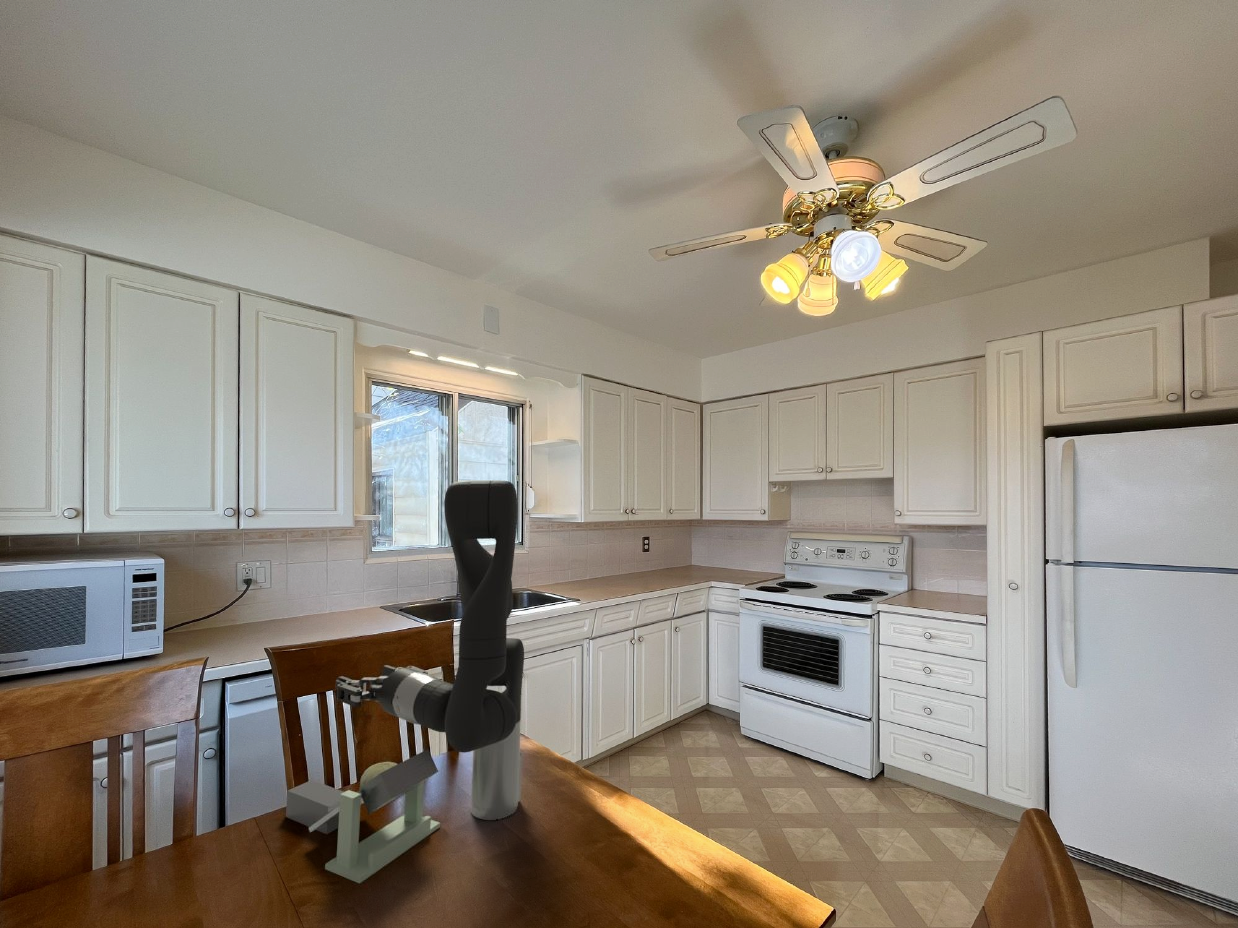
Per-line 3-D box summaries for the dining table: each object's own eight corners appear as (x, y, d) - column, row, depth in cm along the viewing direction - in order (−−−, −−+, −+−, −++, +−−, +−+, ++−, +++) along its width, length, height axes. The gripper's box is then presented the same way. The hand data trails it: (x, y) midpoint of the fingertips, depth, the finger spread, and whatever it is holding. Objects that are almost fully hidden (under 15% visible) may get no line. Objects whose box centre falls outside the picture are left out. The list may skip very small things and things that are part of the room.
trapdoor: (387, 800, 93) (376, 774, 94) (315, 851, 99) (306, 826, 100) (441, 769, 104) (431, 747, 105) (373, 816, 110) (364, 794, 111)
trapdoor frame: (359, 883, 90) (363, 805, 91) (325, 868, 93) (329, 794, 94) (439, 826, 106) (442, 761, 107) (408, 816, 110) (410, 753, 111)
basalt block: (326, 835, 103) (285, 817, 109) (350, 821, 108) (310, 805, 113) (328, 806, 104) (287, 790, 109) (352, 794, 108) (311, 779, 114)
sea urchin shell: (393, 792, 115) (370, 760, 117) (368, 817, 116) (345, 785, 117) (418, 772, 124) (397, 743, 125) (394, 795, 125) (373, 766, 126)
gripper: (451, 663, 99) (398, 647, 109) (375, 684, 88) (323, 664, 97) (449, 706, 99) (396, 687, 109) (373, 733, 88) (321, 708, 97)
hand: (361, 676), depth 103 cm, fingers open, 8 cm apart
